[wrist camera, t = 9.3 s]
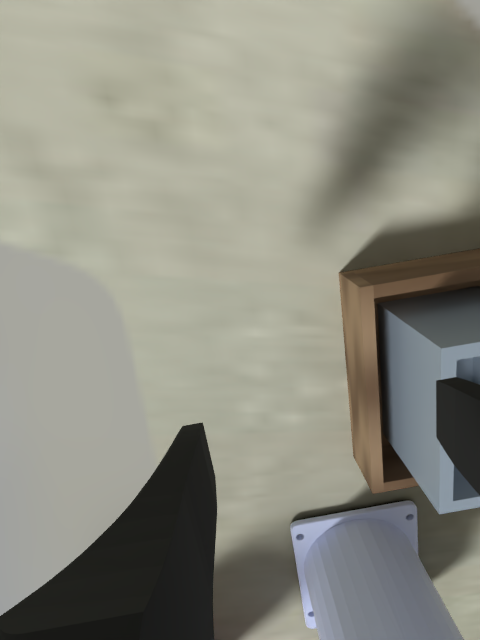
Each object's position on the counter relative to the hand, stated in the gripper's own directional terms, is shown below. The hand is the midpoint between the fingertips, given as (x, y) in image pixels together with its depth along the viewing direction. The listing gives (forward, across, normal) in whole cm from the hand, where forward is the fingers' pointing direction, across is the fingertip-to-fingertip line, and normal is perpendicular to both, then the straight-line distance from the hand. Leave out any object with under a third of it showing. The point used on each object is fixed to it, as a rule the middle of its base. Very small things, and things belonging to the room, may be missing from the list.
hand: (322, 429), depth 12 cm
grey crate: (+9, -8, +4) cm, 13 cm away
